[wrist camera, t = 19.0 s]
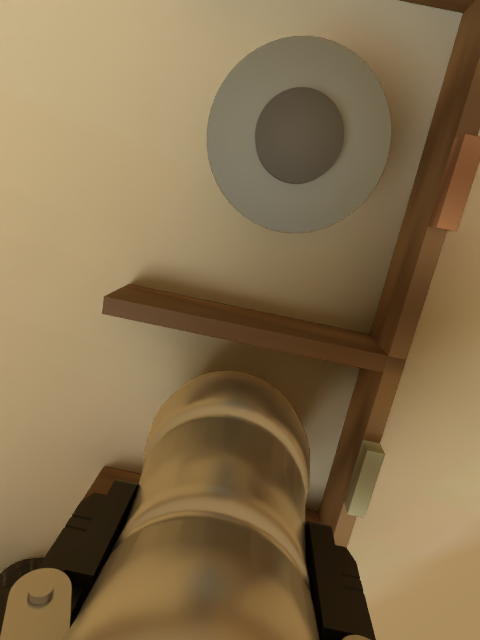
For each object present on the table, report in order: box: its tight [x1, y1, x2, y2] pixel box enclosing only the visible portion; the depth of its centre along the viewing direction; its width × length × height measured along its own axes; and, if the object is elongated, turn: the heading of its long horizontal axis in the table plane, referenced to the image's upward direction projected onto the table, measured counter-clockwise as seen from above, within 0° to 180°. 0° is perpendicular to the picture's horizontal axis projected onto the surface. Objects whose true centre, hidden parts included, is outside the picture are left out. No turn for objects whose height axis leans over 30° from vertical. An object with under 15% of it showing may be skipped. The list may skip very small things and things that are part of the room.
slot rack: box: [82, 0, 480, 548], centre depth 17 cm, size 24×12×4 cm, turn 169°
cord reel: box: [207, 36, 391, 233], centre depth 15 cm, size 5×5×7 cm
